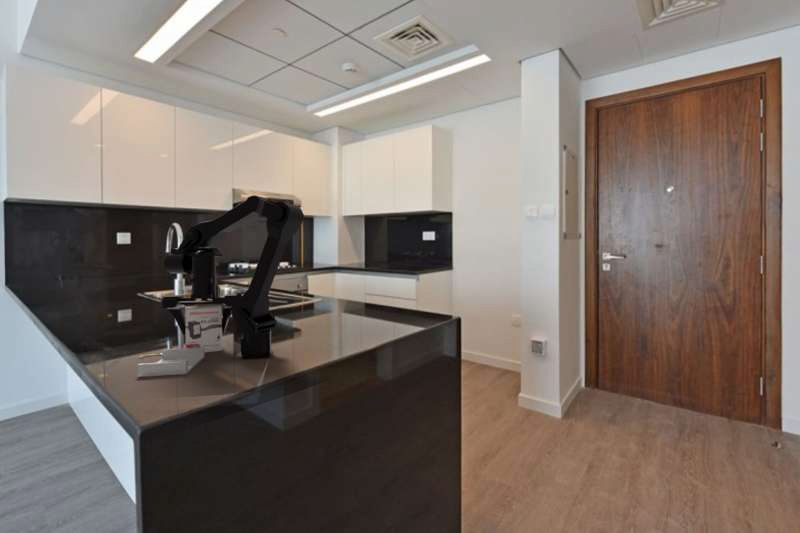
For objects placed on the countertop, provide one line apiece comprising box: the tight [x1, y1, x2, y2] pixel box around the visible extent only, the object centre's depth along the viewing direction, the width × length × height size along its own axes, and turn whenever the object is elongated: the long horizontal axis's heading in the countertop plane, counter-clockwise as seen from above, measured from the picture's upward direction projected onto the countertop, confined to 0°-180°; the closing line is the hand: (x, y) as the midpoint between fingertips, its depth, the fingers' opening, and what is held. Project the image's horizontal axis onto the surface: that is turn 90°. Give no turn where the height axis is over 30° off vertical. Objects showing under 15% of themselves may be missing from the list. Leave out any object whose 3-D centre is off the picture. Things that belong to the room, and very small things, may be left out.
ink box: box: [185, 304, 223, 353], centre depth 102 cm, size 8×5×12 cm, turn 117°
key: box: [139, 352, 162, 360], centre depth 97 cm, size 6×2×1 cm, turn 123°
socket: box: [137, 347, 206, 378], centre depth 88 cm, size 9×14×2 cm, turn 13°
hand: (204, 333), depth 102 cm, fingers closed on ink box, 9 cm apart
